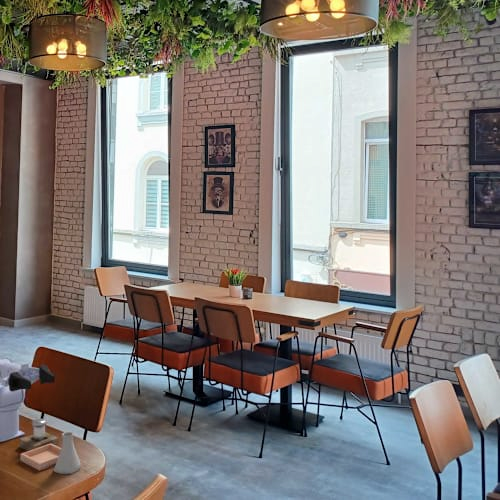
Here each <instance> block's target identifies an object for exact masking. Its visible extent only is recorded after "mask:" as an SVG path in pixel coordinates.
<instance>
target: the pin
mask: <svg viewBox="0 0 500 500" xmlns="http://www.w3.org/2000/svg"><path fill="white" fill-rule="evenodd" d="M47 423H48V420H47V419H46V418H37V419H34V420H31V426H32V427H33V434H34V441H36V442H39V441H42V440H45V432H46V425H47Z"/></svg>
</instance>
